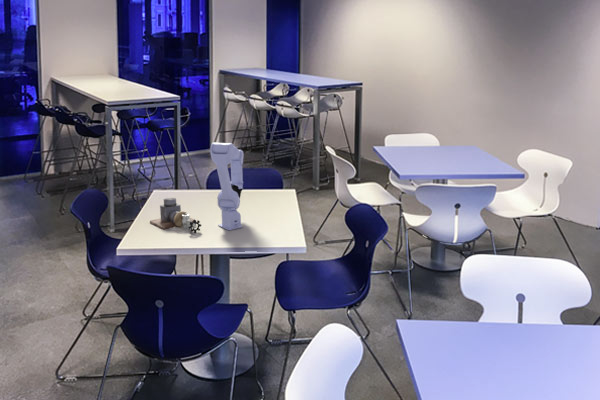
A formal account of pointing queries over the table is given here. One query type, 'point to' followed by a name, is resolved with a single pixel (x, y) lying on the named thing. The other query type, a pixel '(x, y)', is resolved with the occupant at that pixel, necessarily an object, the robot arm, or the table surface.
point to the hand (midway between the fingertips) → (237, 199)
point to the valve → (189, 223)
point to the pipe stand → (170, 215)
